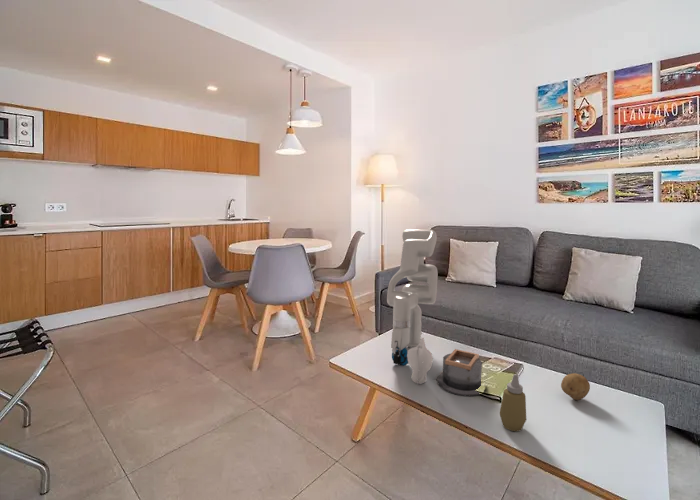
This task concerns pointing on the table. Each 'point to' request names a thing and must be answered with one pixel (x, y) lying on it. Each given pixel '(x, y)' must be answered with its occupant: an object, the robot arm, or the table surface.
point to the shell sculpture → (419, 362)
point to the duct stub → (461, 373)
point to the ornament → (402, 356)
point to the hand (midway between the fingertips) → (400, 360)
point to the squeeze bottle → (513, 406)
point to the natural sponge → (575, 386)
